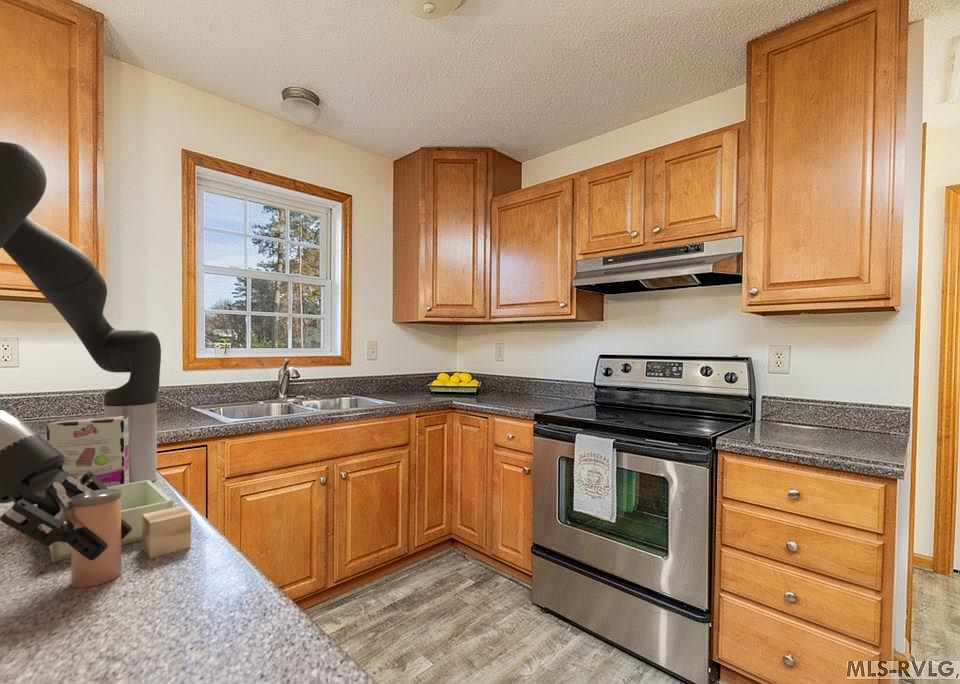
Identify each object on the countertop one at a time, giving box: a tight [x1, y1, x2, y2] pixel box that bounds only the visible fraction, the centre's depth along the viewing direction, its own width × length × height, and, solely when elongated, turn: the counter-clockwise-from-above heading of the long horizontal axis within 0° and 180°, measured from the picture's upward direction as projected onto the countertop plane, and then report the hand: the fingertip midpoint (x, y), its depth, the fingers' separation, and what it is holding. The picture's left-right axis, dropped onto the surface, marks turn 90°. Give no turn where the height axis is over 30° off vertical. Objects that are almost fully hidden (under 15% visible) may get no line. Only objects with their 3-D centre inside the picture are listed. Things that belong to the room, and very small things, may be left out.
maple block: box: [141, 505, 192, 559], centre depth 69 cm, size 5×5×5 cm
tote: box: [44, 480, 174, 563], centre depth 76 cm, size 17×14×5 cm
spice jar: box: [70, 489, 123, 589], centre depth 60 cm, size 5×5×11 cm
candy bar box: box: [46, 416, 129, 487], centre depth 87 cm, size 11×5×16 cm, turn 117°
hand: (113, 543), depth 60 cm, fingers closed on spice jar, 5 cm apart
